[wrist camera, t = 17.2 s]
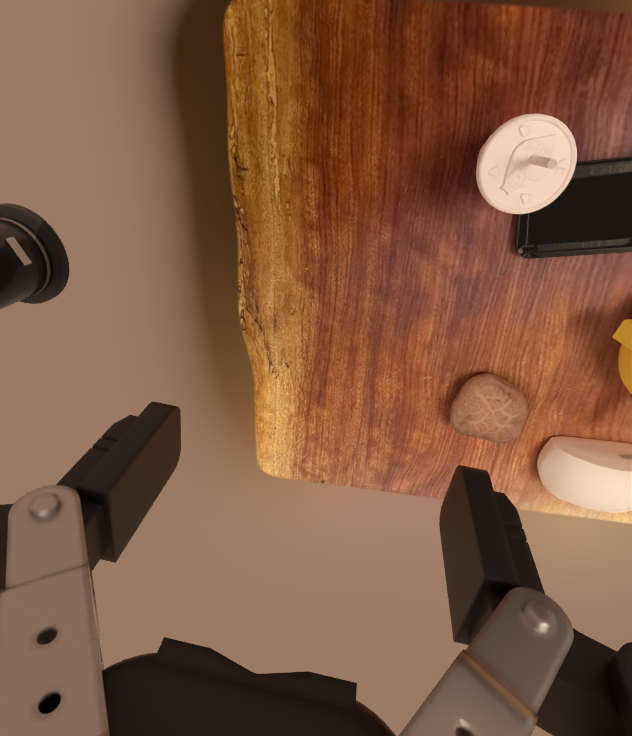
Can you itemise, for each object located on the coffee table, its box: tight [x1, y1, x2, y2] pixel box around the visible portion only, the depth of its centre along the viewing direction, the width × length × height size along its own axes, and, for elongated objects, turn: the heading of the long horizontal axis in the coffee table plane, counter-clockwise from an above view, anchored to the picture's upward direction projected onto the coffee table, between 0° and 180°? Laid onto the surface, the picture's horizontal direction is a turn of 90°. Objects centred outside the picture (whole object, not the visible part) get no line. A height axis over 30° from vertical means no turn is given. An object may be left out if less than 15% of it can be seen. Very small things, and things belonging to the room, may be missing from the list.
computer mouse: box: [537, 436, 632, 513], centre depth 49 cm, size 6×13×6 cm, turn 89°
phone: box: [515, 157, 632, 258], centre depth 39 cm, size 8×1×15 cm
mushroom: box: [450, 373, 528, 444], centre depth 49 cm, size 8×6×8 cm
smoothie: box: [476, 114, 577, 214], centre depth 33 cm, size 6×6×14 cm
